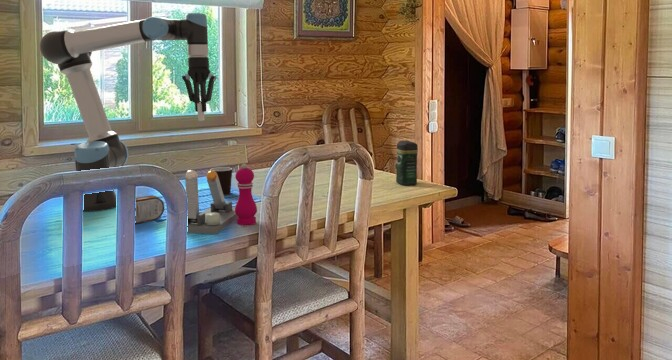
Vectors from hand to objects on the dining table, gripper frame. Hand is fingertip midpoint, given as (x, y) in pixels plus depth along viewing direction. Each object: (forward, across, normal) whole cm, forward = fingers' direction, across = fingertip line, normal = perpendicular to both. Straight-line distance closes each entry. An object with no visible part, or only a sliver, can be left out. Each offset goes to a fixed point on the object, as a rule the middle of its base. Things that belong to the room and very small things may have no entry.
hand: (201, 120), depth 228 cm
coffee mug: (+31, -3, -12) cm, 33 cm away
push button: (+28, -20, +40) cm, 53 cm away
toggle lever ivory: (+27, -13, +40) cm, 51 cm away
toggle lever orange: (+27, -16, +24) cm, 40 cm away
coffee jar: (+31, -74, -42) cm, 91 cm away
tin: (+31, +8, +34) cm, 47 cm away
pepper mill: (+31, -27, +30) cm, 51 cm away
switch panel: (+30, -16, +31) cm, 46 cm away
